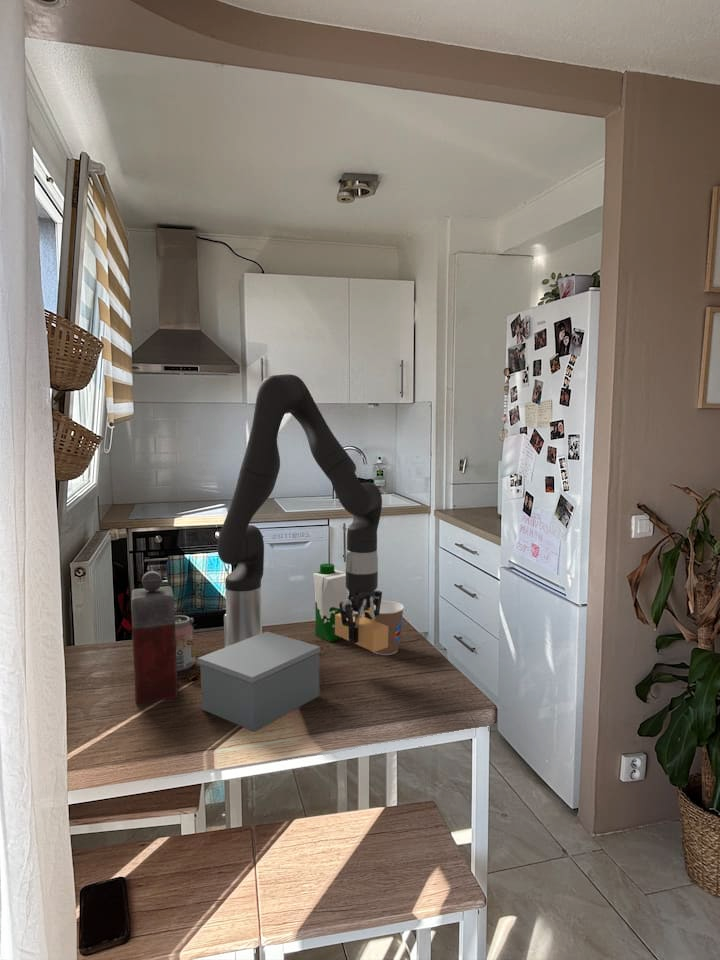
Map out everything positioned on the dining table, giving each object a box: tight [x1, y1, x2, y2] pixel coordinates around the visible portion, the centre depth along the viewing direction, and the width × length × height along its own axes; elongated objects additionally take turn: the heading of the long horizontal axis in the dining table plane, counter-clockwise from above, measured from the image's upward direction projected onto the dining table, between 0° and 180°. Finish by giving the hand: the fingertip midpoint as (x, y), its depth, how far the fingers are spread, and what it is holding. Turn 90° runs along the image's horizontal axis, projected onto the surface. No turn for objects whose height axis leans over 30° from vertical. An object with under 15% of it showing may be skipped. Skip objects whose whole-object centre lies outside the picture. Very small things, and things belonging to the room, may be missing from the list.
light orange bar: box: [335, 611, 388, 653], centre depth 154 cm, size 14×4×5 cm, turn 41°
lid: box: [197, 631, 321, 683], centre depth 141 cm, size 17×20×1 cm
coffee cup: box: [373, 600, 405, 656], centre depth 172 cm, size 10×10×12 cm
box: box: [199, 652, 320, 732], centre depth 142 cm, size 16×20×10 cm
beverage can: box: [175, 614, 196, 672], centre depth 163 cm, size 9×8×12 cm
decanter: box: [130, 570, 179, 704], centre depth 148 cm, size 9×11×28 cm
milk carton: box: [312, 563, 349, 643], centre depth 182 cm, size 9×9×20 cm
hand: (361, 638), depth 154 cm, fingers closed on light orange bar, 5 cm apart
